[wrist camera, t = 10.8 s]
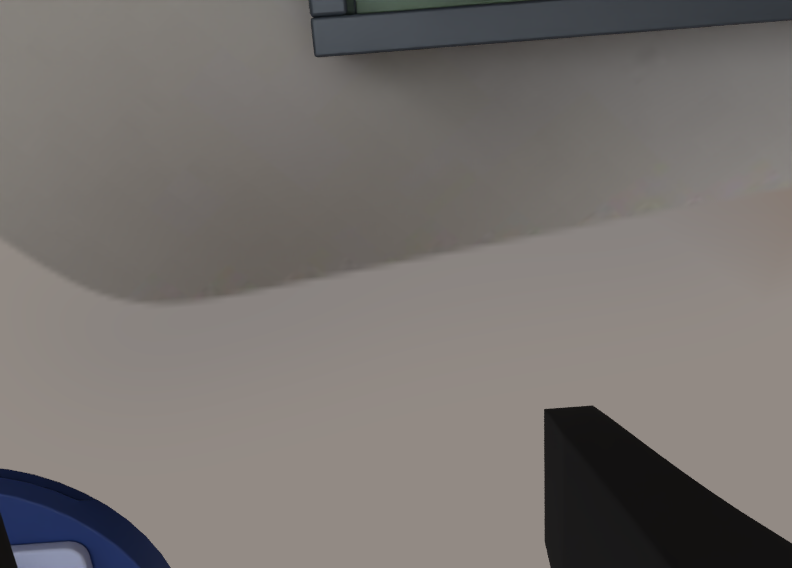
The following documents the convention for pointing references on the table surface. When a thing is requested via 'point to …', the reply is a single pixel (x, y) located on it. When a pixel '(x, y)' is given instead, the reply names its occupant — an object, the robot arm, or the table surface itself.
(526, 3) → the tray
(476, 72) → the table surface
